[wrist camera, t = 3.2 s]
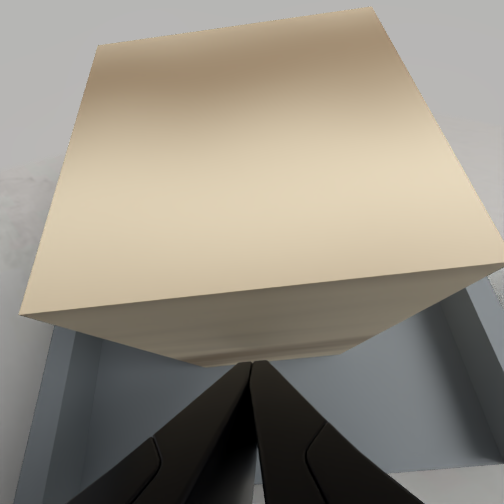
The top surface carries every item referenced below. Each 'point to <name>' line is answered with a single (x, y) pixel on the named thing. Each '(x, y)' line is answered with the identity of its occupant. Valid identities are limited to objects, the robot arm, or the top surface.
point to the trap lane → (302, 379)
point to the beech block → (256, 196)
